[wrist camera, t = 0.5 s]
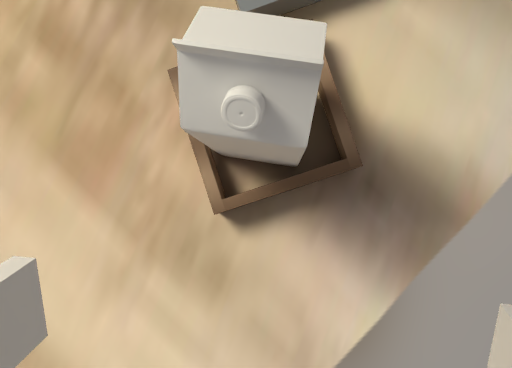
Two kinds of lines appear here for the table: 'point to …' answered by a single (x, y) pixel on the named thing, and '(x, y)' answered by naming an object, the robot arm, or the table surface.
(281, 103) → the milk carton
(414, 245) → the table surface
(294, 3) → the tray
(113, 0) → the table surface
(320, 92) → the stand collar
